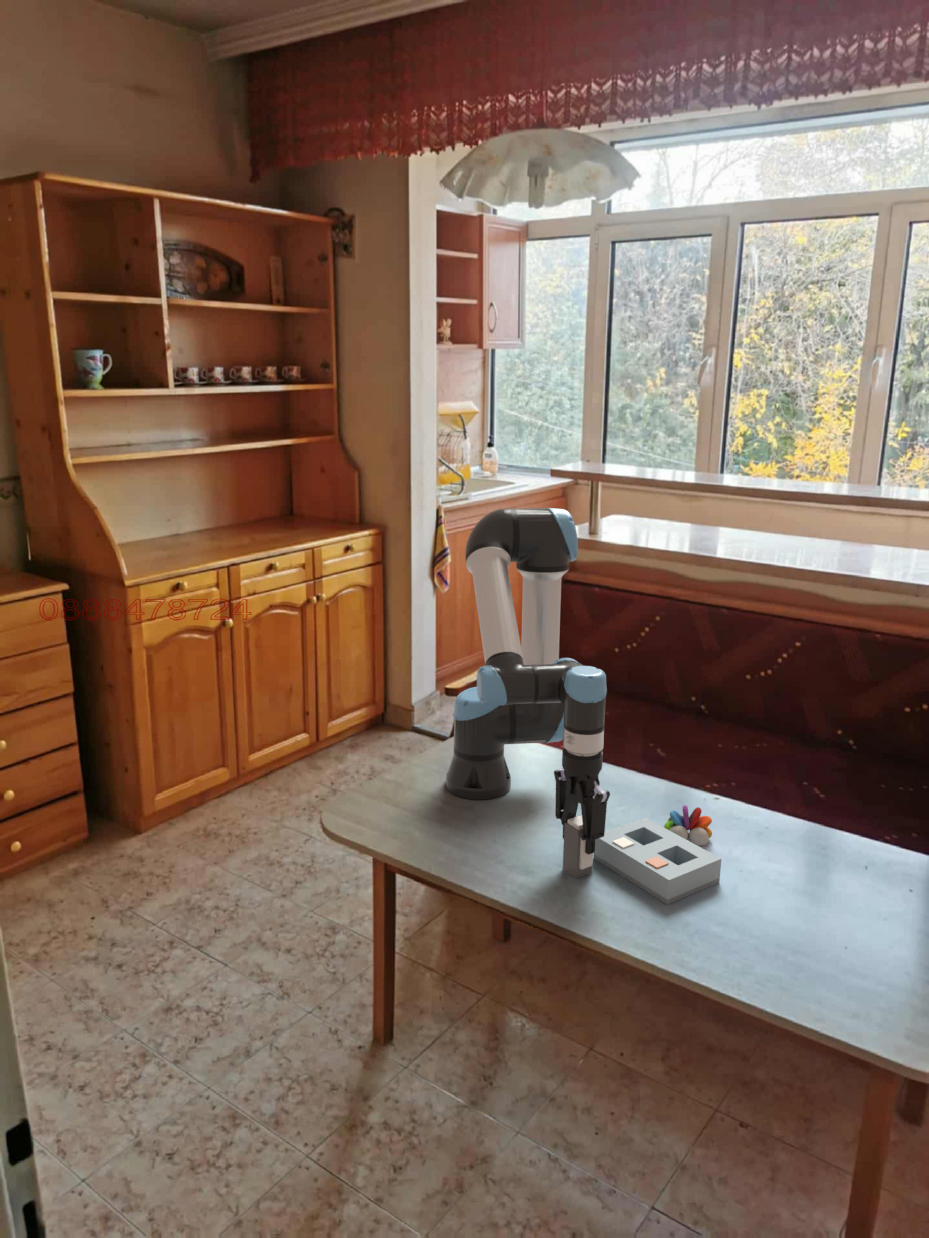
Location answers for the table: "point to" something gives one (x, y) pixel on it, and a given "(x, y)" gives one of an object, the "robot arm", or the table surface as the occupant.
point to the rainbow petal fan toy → (690, 826)
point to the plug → (573, 848)
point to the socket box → (657, 860)
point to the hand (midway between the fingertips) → (577, 861)
